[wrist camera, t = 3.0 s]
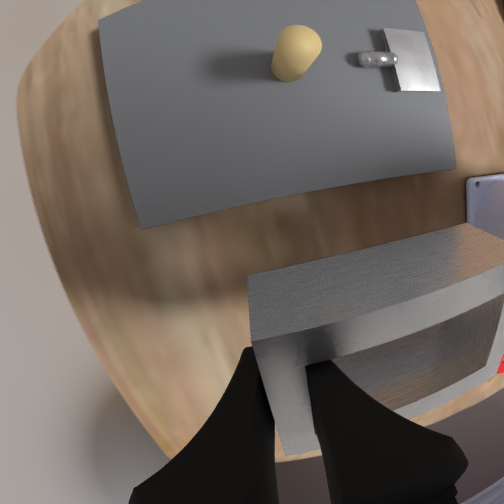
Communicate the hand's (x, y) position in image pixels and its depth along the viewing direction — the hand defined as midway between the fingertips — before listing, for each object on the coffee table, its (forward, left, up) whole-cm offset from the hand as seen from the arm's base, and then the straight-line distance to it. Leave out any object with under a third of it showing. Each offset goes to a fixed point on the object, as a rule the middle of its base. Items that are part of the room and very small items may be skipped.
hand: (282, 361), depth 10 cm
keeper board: (-3, -12, -9) cm, 15 cm away
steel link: (-4, 0, -2) cm, 5 cm away
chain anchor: (-10, -12, -7) cm, 17 cm away
